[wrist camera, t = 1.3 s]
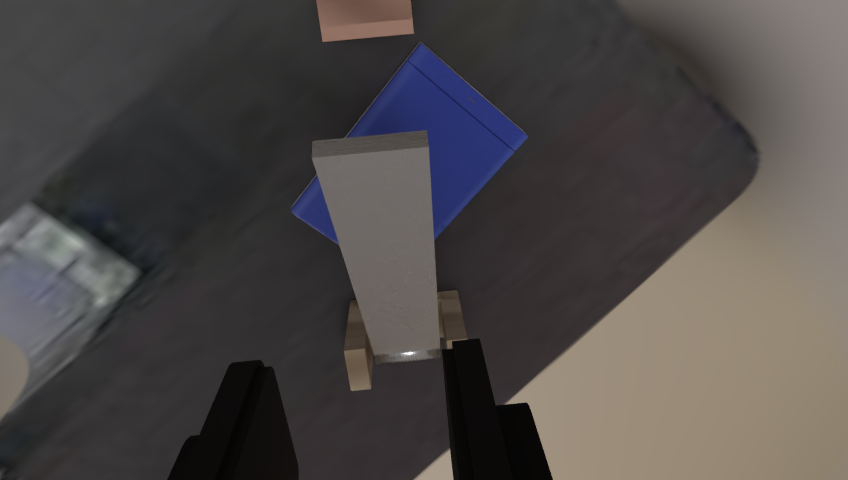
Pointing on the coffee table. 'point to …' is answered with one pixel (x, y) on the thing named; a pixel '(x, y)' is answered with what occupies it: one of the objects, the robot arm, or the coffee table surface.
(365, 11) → the block
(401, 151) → the grey long flat bar
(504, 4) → the coffee table surface
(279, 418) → the robot arm
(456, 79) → the hard drive
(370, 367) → the pivot bracket
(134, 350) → the coffee table surface
